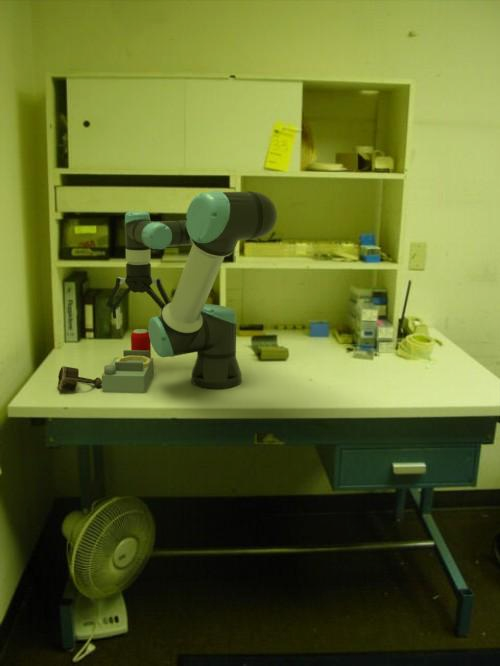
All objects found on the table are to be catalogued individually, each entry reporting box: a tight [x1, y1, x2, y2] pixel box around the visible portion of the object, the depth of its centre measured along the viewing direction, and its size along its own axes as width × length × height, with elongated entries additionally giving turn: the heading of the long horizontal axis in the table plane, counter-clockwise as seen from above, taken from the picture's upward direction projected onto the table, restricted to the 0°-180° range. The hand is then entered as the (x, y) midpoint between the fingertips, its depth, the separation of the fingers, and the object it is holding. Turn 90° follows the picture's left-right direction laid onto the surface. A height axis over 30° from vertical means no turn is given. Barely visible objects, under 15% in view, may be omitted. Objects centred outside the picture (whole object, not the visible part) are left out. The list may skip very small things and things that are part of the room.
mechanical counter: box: [57, 365, 102, 391], centre depth 178 cm, size 7×13×10 cm
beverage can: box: [130, 328, 152, 358], centre depth 197 cm, size 6×6×12 cm
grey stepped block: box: [101, 349, 155, 394], centre depth 183 cm, size 12×17×8 cm
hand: (139, 328), depth 196 cm, fingers open, 13 cm apart
